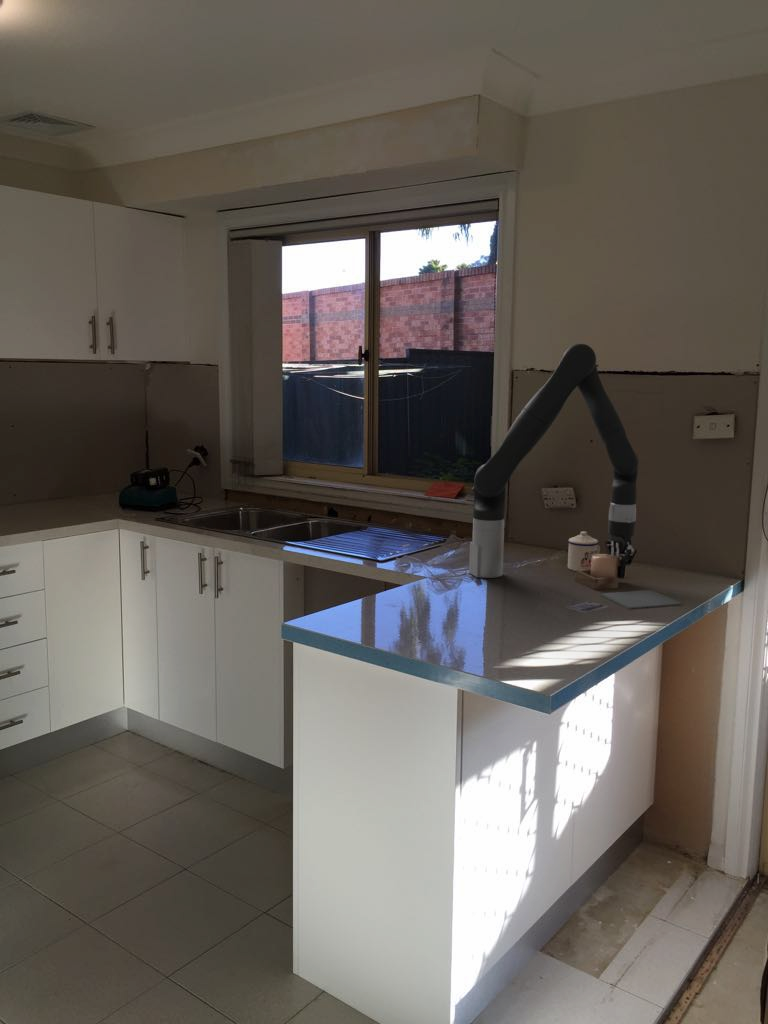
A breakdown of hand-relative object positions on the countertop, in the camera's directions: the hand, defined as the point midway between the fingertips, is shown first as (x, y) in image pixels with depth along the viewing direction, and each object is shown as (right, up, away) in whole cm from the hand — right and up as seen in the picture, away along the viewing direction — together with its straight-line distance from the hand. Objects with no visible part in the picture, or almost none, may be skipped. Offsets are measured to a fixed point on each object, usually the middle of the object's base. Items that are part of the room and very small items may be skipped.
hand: (618, 577), depth 250 cm
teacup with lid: (-6, +1, +17) cm, 18 cm away
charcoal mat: (+1, -5, -18) cm, 19 cm away
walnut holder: (-7, -2, -2) cm, 8 cm away
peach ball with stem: (-3, -2, -1) cm, 4 cm away
